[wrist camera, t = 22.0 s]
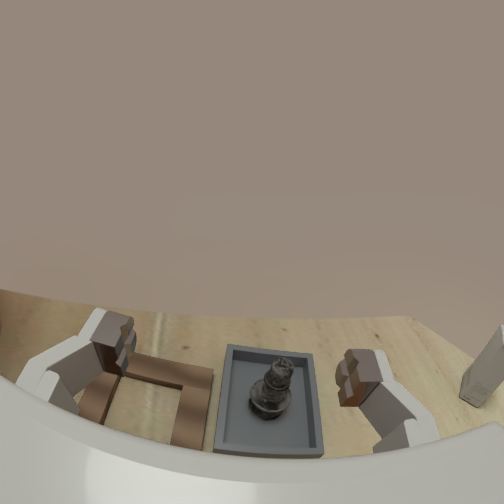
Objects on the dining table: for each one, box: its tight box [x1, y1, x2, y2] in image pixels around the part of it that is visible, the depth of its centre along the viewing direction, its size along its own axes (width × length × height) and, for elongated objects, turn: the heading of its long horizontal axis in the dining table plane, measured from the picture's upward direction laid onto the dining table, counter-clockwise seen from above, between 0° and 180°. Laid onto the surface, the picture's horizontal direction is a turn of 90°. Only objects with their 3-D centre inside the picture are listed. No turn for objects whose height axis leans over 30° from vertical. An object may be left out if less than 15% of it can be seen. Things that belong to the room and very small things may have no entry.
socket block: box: [78, 352, 214, 451], centre depth 33 cm, size 18×18×2 cm
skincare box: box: [459, 324, 504, 407], centre depth 37 cm, size 8×7×16 cm
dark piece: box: [248, 357, 294, 421], centre depth 34 cm, size 6×6×12 cm
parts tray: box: [213, 344, 324, 459], centre depth 36 cm, size 18×14×4 cm
